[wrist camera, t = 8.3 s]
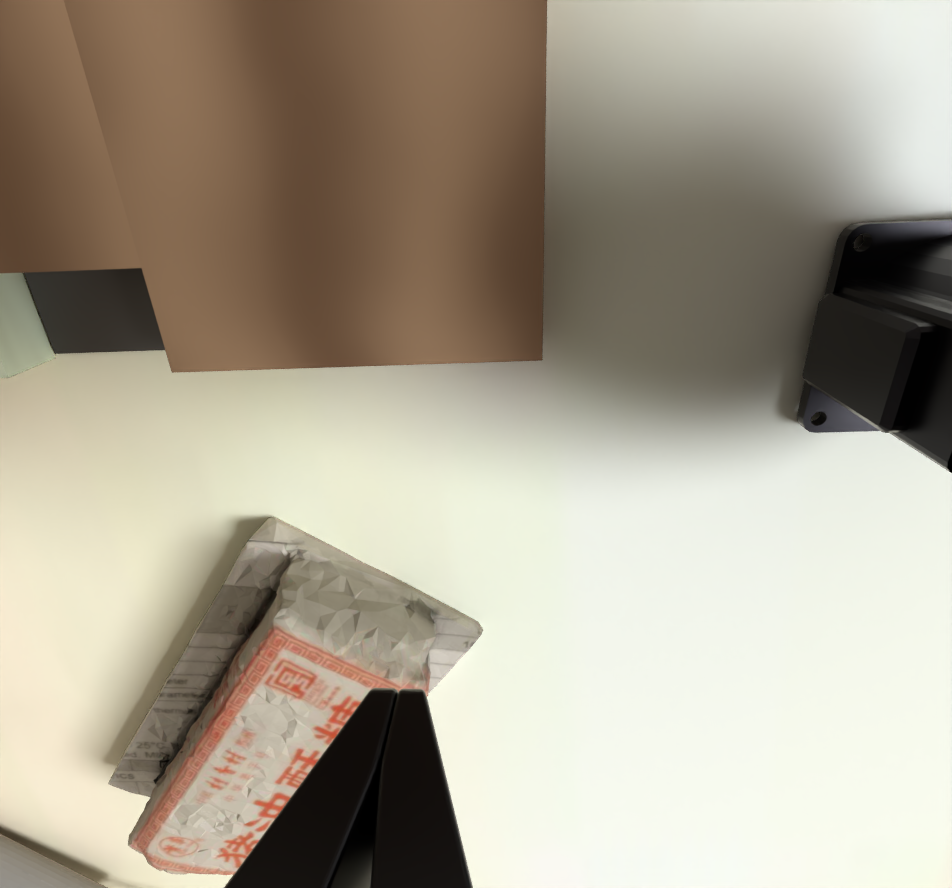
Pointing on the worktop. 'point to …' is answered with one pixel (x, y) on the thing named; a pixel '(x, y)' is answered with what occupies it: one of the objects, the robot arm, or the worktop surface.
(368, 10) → the trap deck
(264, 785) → the packaged product
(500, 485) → the worktop surface
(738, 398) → the worktop surface
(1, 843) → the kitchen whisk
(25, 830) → the worktop surface
